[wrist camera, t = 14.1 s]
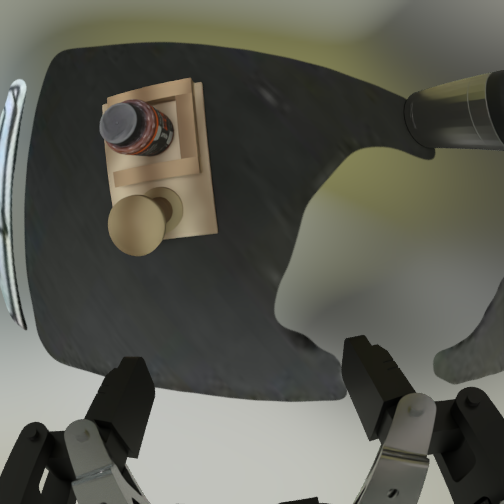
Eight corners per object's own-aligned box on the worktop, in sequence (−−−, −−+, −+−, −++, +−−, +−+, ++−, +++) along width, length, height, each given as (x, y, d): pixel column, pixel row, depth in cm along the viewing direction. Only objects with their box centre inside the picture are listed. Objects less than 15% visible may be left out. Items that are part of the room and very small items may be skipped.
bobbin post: (180, 183, 34) (158, 191, 25) (186, 229, 36) (168, 252, 26) (136, 190, 34) (103, 201, 24) (144, 234, 36) (114, 258, 26)
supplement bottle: (184, 130, 32) (160, 116, 21) (154, 165, 33) (118, 168, 22) (152, 103, 31) (118, 81, 20) (123, 138, 32) (80, 131, 21)
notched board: (202, 84, 31) (198, 76, 28) (218, 231, 37) (216, 238, 34) (105, 106, 31) (94, 102, 28) (122, 243, 37) (113, 250, 34)
